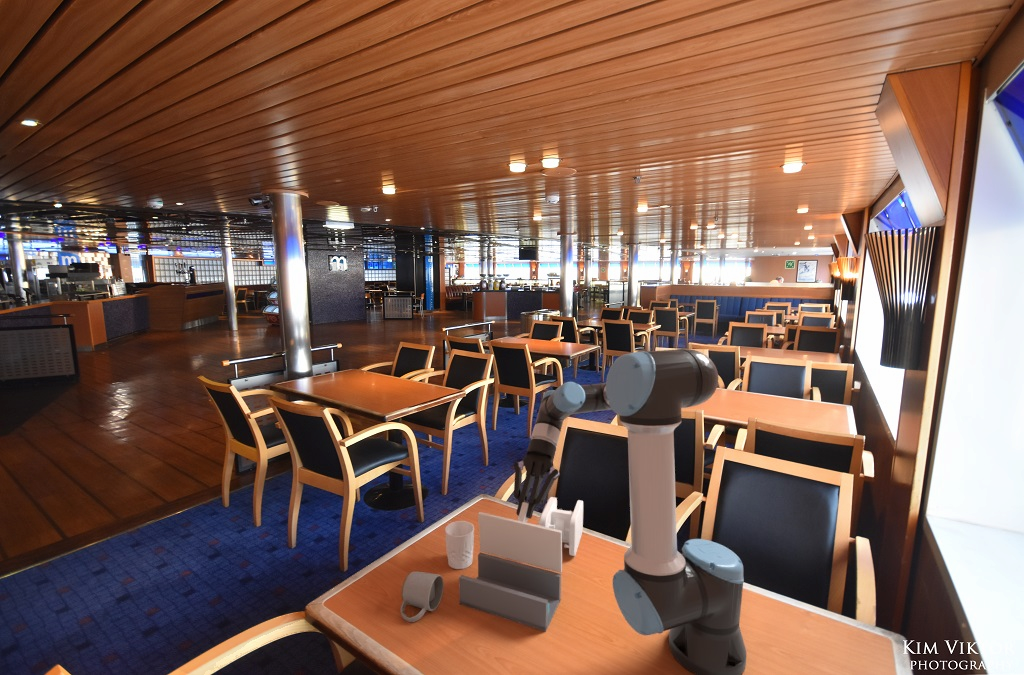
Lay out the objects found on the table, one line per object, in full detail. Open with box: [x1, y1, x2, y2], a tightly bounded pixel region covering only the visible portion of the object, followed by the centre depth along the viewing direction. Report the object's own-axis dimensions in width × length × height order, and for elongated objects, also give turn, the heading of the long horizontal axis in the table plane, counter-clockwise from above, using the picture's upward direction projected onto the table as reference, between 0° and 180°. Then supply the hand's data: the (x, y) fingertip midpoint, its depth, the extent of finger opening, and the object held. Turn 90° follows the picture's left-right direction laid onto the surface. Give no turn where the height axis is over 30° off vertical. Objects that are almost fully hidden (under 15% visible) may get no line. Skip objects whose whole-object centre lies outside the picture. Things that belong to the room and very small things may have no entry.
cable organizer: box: [537, 496, 584, 557], centre depth 138 cm, size 15×11×12 cm
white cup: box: [444, 520, 475, 570], centre depth 130 cm, size 8×8×10 cm
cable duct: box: [458, 551, 562, 632], centre depth 114 cm, size 22×11×7 cm, turn 67°
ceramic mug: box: [400, 570, 445, 623], centre depth 113 cm, size 11×8×8 cm
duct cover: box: [477, 511, 563, 574], centre depth 118 cm, size 22×11×1 cm
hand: (519, 529), depth 119 cm, fingers closed
